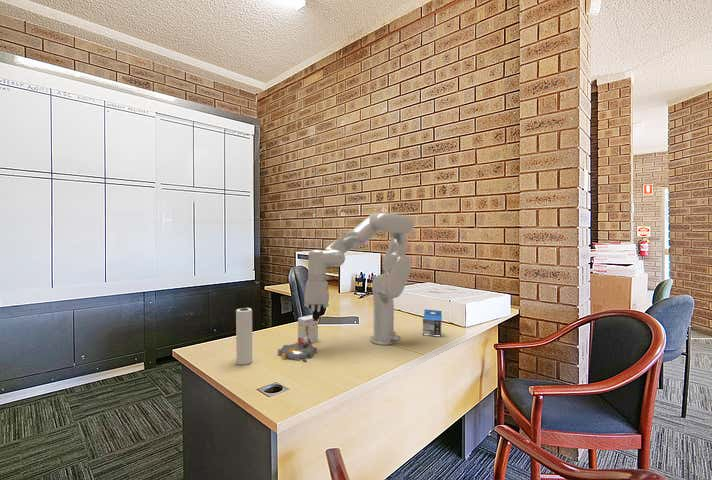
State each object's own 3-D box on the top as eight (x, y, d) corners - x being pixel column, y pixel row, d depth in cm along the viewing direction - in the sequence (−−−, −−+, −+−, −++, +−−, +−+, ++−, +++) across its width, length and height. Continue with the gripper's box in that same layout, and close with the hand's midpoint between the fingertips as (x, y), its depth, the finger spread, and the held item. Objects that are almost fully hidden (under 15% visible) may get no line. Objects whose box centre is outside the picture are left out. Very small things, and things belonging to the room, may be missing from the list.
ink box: (304, 345, 163) (303, 319, 163) (297, 343, 167) (297, 317, 166) (318, 341, 169) (318, 316, 169) (311, 338, 173) (311, 314, 172)
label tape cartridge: (422, 335, 179) (422, 310, 178) (423, 333, 182) (424, 309, 182) (440, 337, 175) (440, 312, 175) (441, 335, 179) (441, 310, 179)
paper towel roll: (243, 366, 138) (243, 311, 137) (233, 363, 141) (232, 309, 141) (257, 360, 144) (257, 308, 144) (247, 357, 147) (247, 306, 147)
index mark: (302, 360, 145) (302, 359, 145) (305, 359, 145) (305, 359, 145) (304, 362, 143) (304, 361, 143) (307, 361, 143) (307, 361, 143)
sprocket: (324, 352, 154) (324, 338, 154) (297, 363, 141) (297, 348, 141) (297, 344, 164) (297, 331, 164) (269, 355, 151) (269, 341, 150)
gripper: (335, 277, 158) (334, 318, 158) (302, 276, 159) (301, 317, 160) (332, 280, 150) (331, 323, 151) (297, 278, 152) (297, 321, 152)
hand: (316, 320), depth 155 cm, fingers closed
